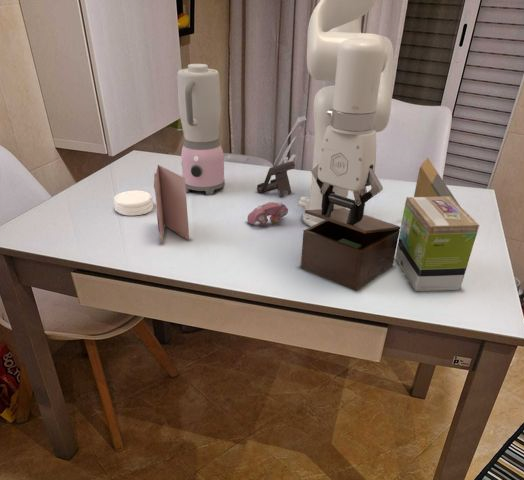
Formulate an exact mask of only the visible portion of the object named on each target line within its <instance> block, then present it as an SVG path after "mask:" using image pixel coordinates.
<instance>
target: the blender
mask: <svg viewBox="0 0 524 480" xmlns="http://www.w3.org/2000/svg"><path fill="white" fill-rule="evenodd" d="M176 78H177V100H178V112H179V117H180V118H179V119H180V123H181V128H182V131H183V136H184V137H183V138H184V142H183V145H182V148H181V152H180V154H181V155H180V158H181V171H182V177H184V178H185V187H186V193H189V192H190V191H191V190H192V191H197V192H205V195H207V196H209V195H214V191H216V190H218V189H219V190H220V189H221V188H223V187H224V186H225V185H226V184H225V159H224V158H225V157H224V150H223V148H222V146H221V143H220V140H219V139H220V138H219V135H220V134H219V133H220V125H221V116H222V102H221V100H222V99H221V84H220V83H221V82H220V73H219V71H218V70H217V69H215V68H214V69H213V68H209V66H208V64H205V63H190V64H187V68H182V69H178V71H177V73H176Z"/></svg>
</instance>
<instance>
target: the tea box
mask: <svg viewBox="0 0 524 480" xmlns="http://www.w3.org/2000/svg"><path fill="white" fill-rule="evenodd" d="M458 204H459V203H458ZM458 204H457V203H456V202H455V201H454V200H453V199H452V198H451V197H450V196H438V197H414V196H412V197H411V196H410V197H409V196H406V198H405V203H404V208H403V215H402V219H401V225H400V229H399V230H400V232H399V237H398V242H397V247H396V252H395V257H394V258H395V259H396V261H397V263H398V264H399V266H400V268H401V270H402V271H403V273H404V274H405V277H406V278H407V279H408V281H409V283H410V285H411V286H412V288H413V290H414V291H415V292H436V291H438V292H439V291H457V290H458V291H459V290H461V289H462V285H463V282H464V279H465V275H466V272H467V268H468V264H469V261H470V258H471V255H472V251H473V247H474V244H475V241H476V238H477V234H478V230H479V227H480V224H479V223H478V222H477V221H476V220H474V218H473V217H471V215H470V214H469V213H468V212H467V211H466V210H465V209H464V208H463V207H462V206H461V205H460V204H459V205H460V206H459V205H458Z"/></svg>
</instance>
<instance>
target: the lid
mask: <svg viewBox="0 0 524 480" xmlns="http://www.w3.org/2000/svg"><path fill="white" fill-rule="evenodd" d="M328 202H329V205H328V209H327V213H326V215H322V209H316V210H306V209H305V210H304V212H303V213H306V214H309V215H312V216H315V217H318V218H321V219H324V220H327V221H330V222H333V223H336V224H339V225H341V226H344V227H347V228H350V229H353V230H356V231H359V232H362V233H365V234H366V233H374V232H382V231H391V230H401V225H396V224H395V223H394V224H393V223H391V222H388V221H384V220H381V219H378V218H375V217H373V216H369V215H366V214H363V218H362V219H361V221H360V222H358V223H356V224H354V225H352V224H350V218H351V210H352V205H353V204H355V199H352V198H350V197H348V198H346V197H342V196H339V195H336V194H333V193H331V194H330V195H329V196H328ZM333 204H336V205H339V206H342V207H345V208H346V209H344V208H340V209H333V211H332V207H333ZM331 211H332V212H331Z"/></svg>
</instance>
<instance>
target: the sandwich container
mask: <svg viewBox="0 0 524 480" xmlns="http://www.w3.org/2000/svg"><path fill="white" fill-rule="evenodd" d="M438 196H450V197H451V198H452V199H453V200H454V201H455V202H456V203H457V204H458V205H459V206H460V207H461V205H460V204H459V202H458V201H457V199H456V198H455V196H454V195H453V193H452V192H451V190H450V188H449V187H448V186H447V185H446V183H445V181H444V180H443V179H442V177H441V175H440V174H439V172H438V171H437V169H436V168H435V166H434V165H433V163H432V161H431V160H430V158H429V157H426V158H425V160H423V162H422V163H421V164H420V166H419V170H418V175H417V179H416V184H415V189H414V194H413V197H438Z"/></svg>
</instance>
